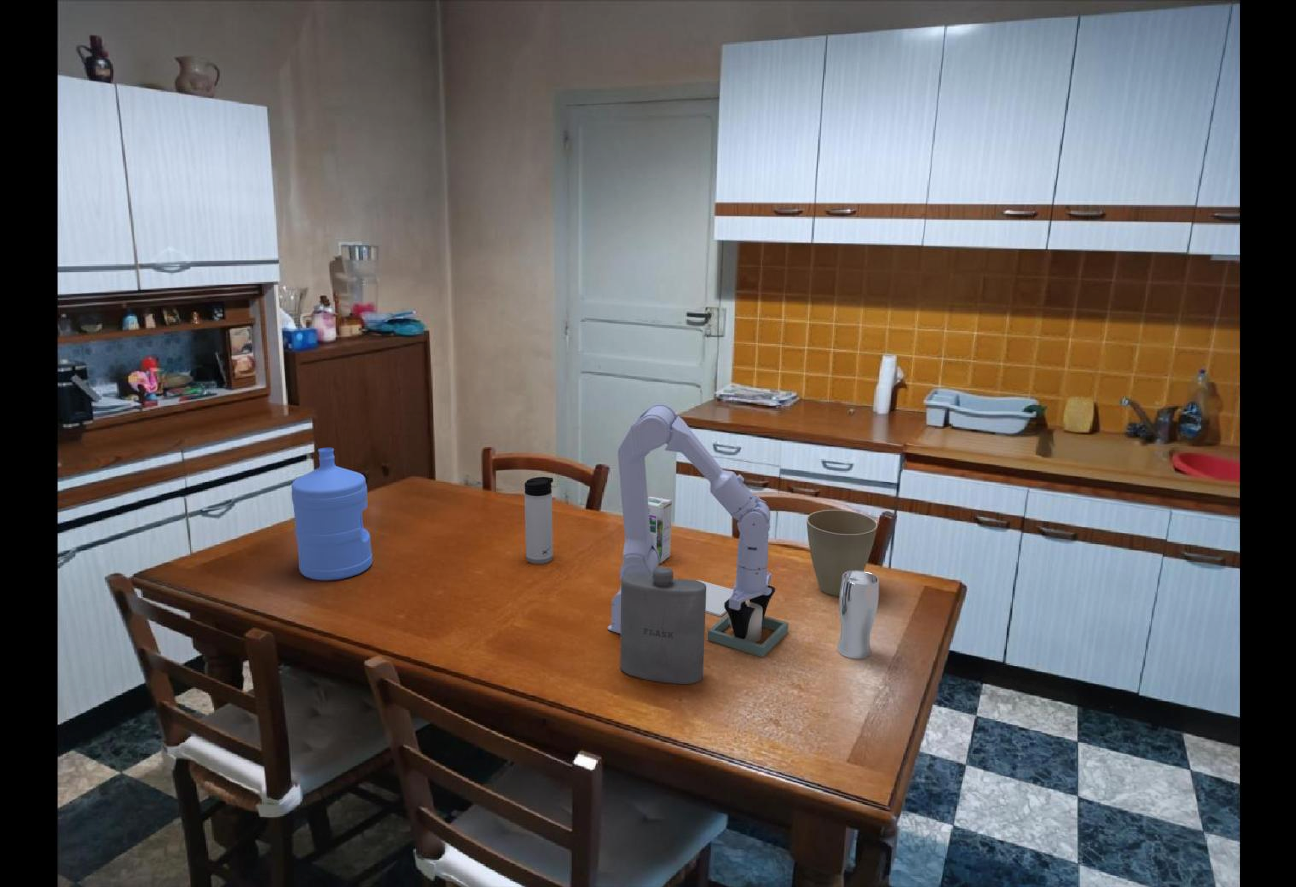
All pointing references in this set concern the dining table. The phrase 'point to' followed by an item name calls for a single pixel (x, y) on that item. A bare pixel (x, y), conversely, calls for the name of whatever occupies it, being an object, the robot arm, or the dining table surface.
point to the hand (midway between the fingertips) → (748, 629)
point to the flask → (662, 627)
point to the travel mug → (538, 520)
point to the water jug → (331, 521)
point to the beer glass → (857, 612)
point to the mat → (716, 598)
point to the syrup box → (660, 525)
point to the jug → (753, 623)
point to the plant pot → (839, 545)
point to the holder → (745, 645)
